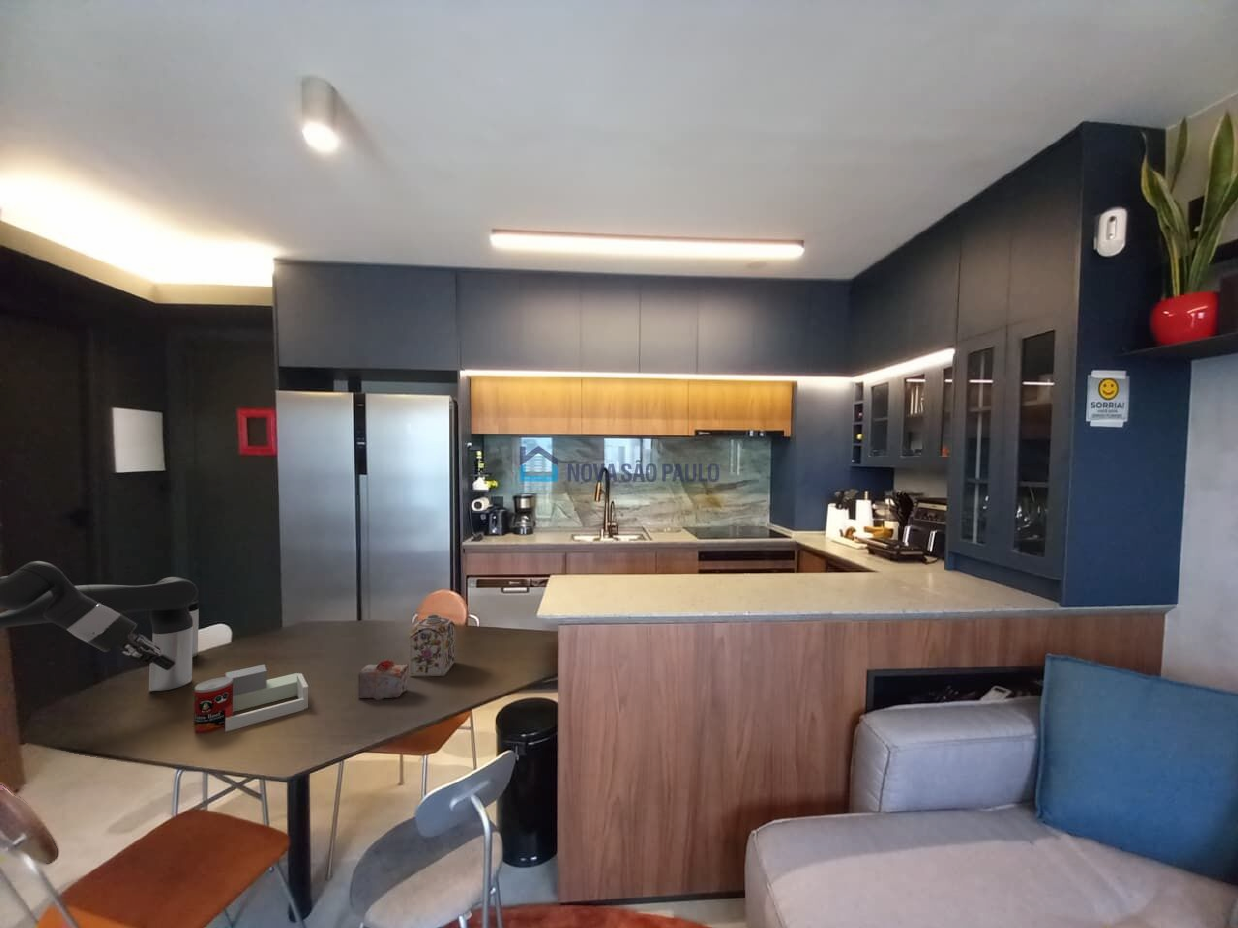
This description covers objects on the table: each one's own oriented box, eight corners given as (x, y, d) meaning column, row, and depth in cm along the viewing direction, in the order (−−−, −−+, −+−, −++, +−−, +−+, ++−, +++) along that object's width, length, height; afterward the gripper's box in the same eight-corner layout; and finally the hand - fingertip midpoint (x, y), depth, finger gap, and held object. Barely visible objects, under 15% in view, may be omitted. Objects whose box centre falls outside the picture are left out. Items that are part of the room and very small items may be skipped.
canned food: (186, 735, 120) (187, 691, 120) (204, 719, 128) (205, 678, 128) (222, 731, 122) (223, 687, 123) (238, 715, 130) (239, 675, 130)
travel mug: (195, 651, 176) (196, 597, 176) (199, 656, 172) (200, 600, 172) (172, 656, 171) (173, 601, 172) (176, 661, 167) (177, 604, 167)
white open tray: (215, 734, 121) (215, 698, 121) (213, 706, 135) (214, 674, 135) (308, 708, 134) (308, 676, 134) (297, 685, 148) (298, 656, 148)
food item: (412, 688, 147) (412, 656, 147) (401, 700, 139) (402, 666, 139) (367, 689, 146) (367, 657, 146) (353, 701, 138) (354, 667, 138)
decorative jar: (456, 662, 167) (456, 610, 167) (445, 676, 155) (445, 621, 155) (421, 662, 166) (422, 611, 167) (407, 677, 155) (408, 621, 155)
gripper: (90, 633, 115) (158, 671, 123) (80, 648, 105) (155, 688, 113) (122, 607, 119) (187, 645, 127) (115, 620, 109) (186, 660, 117)
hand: (172, 665), depth 120 cm, fingers closed
